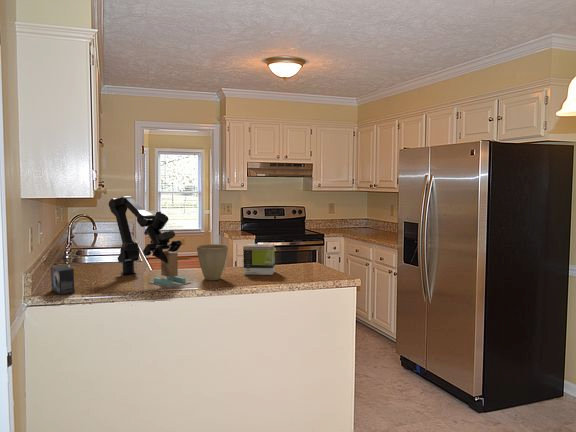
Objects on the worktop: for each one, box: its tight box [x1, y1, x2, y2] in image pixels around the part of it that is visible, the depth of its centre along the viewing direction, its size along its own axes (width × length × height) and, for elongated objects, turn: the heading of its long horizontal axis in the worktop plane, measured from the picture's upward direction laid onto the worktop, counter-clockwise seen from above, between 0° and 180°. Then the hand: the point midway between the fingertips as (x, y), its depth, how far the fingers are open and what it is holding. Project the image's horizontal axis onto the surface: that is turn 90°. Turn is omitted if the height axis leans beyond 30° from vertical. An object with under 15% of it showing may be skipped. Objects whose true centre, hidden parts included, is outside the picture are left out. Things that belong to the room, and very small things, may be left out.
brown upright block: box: [160, 250, 179, 278], centre depth 226 cm, size 7×4×11 cm, turn 52°
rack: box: [147, 276, 192, 289], centre depth 226 cm, size 16×12×2 cm
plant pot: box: [196, 243, 229, 281], centre depth 236 cm, size 15×15×16 cm
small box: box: [50, 264, 76, 296], centre depth 208 cm, size 11×6×10 cm, turn 45°
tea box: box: [242, 243, 276, 276], centre depth 250 cm, size 15×10×15 cm, turn 84°
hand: (171, 261), depth 225 cm, fingers closed on brown upright block, 4 cm apart
